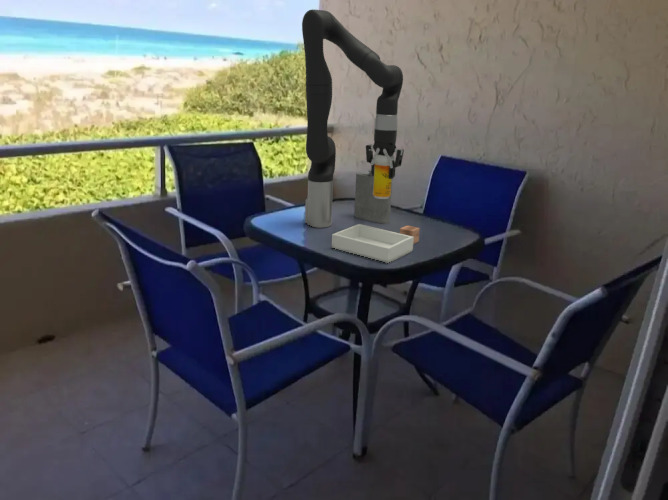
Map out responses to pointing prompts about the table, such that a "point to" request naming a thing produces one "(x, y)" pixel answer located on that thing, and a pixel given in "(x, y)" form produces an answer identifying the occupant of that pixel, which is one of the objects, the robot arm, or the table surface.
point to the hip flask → (370, 200)
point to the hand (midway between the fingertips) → (382, 176)
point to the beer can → (381, 178)
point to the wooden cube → (411, 232)
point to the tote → (373, 243)
